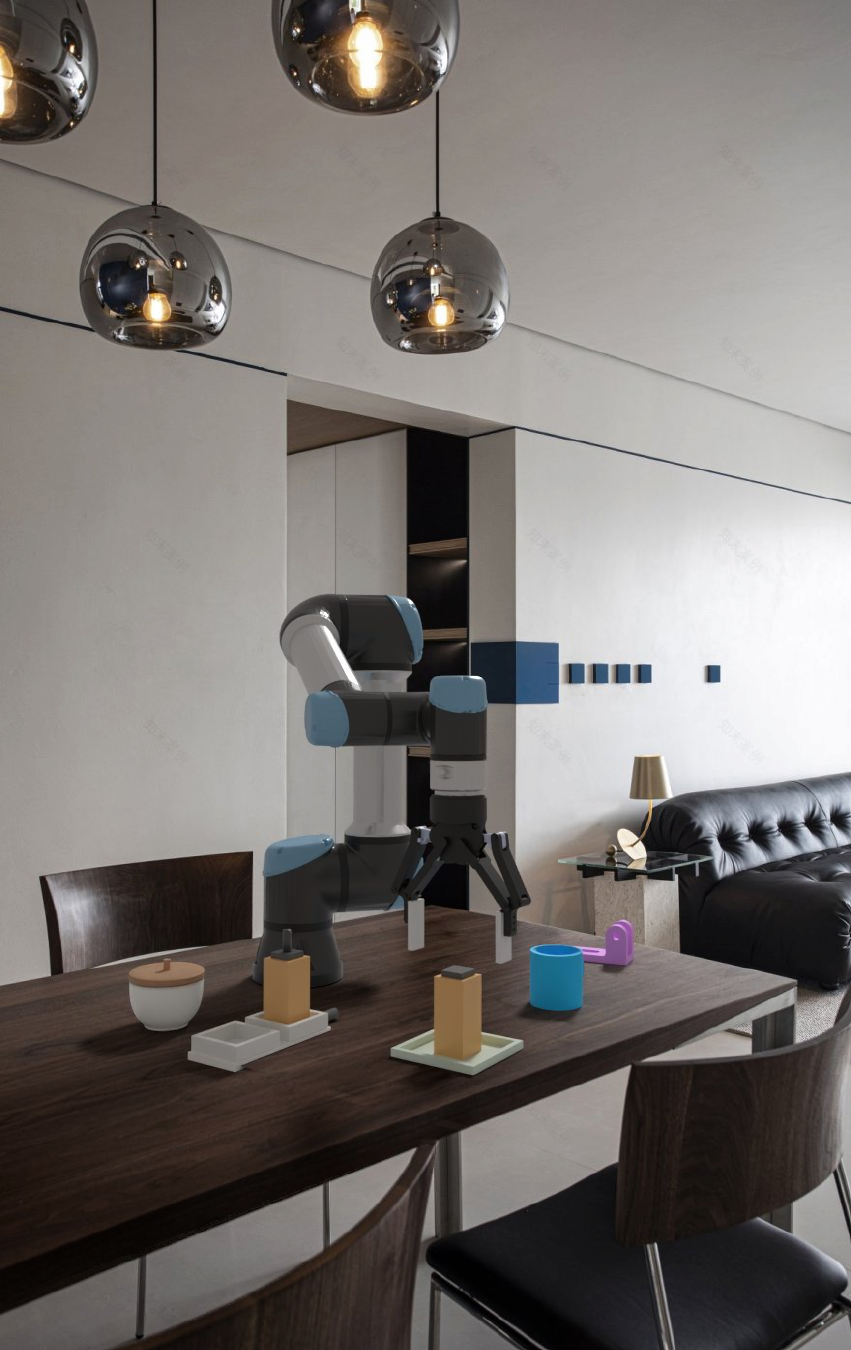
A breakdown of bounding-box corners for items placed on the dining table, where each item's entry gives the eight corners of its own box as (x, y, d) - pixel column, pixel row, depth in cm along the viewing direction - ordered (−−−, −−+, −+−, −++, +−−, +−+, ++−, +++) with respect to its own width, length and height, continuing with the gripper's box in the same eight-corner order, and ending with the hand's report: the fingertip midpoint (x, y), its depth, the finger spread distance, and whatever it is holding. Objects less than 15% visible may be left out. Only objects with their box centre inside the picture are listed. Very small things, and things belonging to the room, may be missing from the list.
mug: (565, 1014, 164) (565, 959, 164) (519, 1004, 169) (519, 951, 169) (605, 997, 174) (605, 945, 174) (560, 988, 179) (560, 937, 179)
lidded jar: (137, 1040, 151) (138, 971, 151) (120, 1020, 160) (121, 955, 161) (213, 1029, 156) (214, 963, 156) (193, 1010, 165) (193, 947, 165)
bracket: (633, 959, 199) (633, 920, 199) (626, 966, 194) (626, 926, 194) (564, 952, 204) (564, 914, 204) (555, 958, 199) (555, 920, 199)
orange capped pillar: (434, 1053, 144) (434, 970, 144) (452, 1044, 147) (452, 963, 148) (463, 1059, 141) (463, 975, 141) (481, 1050, 145) (481, 968, 145)
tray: (390, 1060, 143) (390, 1048, 143) (444, 1035, 153) (444, 1024, 153) (473, 1079, 136) (473, 1066, 136) (523, 1052, 146) (523, 1040, 146)
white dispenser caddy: (234, 1072, 138) (235, 953, 138) (187, 1059, 143) (188, 945, 143) (357, 1023, 159) (357, 920, 159) (312, 1013, 164) (312, 914, 164)
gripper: (365, 790, 149) (365, 948, 148) (527, 798, 135) (528, 973, 134) (398, 787, 155) (398, 939, 154) (556, 794, 141) (557, 961, 140)
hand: (458, 955), depth 144 cm, fingers open, 13 cm apart
